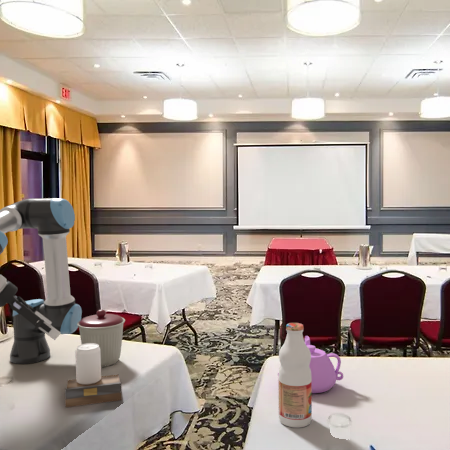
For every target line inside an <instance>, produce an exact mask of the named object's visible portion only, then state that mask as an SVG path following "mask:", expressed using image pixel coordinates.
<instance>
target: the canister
mask: <svg viewBox="0 0 450 450" xmlns="http://www.w3.org/2000/svg"><path fill="white" fill-rule="evenodd" d="M125 322H126V319H125V318H124V317H122V316H121V315H118V314H114V313H106V310H105V309H98V310H97V311H96V314H93V315H92V314H91V315H89V316H88V315H87V316H85V317H83V318H81V320H80V321H79V322H78V323H77V325H78V328H79V337H80V342H81V344H80V345H82V344H87V343H95V344H98V345H99V348H100V354H101V368H103V367H108V366H113V365H114V364H116V363H117V362H118V361H119V360H120V357H121V353H122V352H121V351H122V345H123V344H122V343H123V331H124V324H125Z"/></svg>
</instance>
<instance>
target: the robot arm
mask: <svg viewBox="0 0 450 450" xmlns="http://www.w3.org/2000/svg"><path fill="white" fill-rule="evenodd" d="M75 221H76V214H75V211H74V207H73V205H72V204H71V203H70V202H69V200H67V199H66V198H57V197H52V198H50V197H48V198H46V197H45V198H25V199H22V200H19V201H17V202H14V203H11V204H9V205H6V206H4V207H2V208H1V209H0V255H2V253H3V252H4V250H5V249H6V248H7V245H8V242H9V241H8V237H7V235H6V234H7V233H8V232H16V231H18V230H23V229H35V230H36V229H37V235H38V236H39V237H41V239H42V245H43V258H44V268H45V281H46V282H45V284H46V293H47V294H46V296H47V298H46V299H41V298H38V299H37V298H36V299H30V300H24V299H23V298H22V297H21V296H20V295H18V296H17V295H16V294H17V293H18V286H16V285H15V284H14V283H12V282H11V281H9V280H7V278H6V277H5V276H3V275H2V274H0V308H2V307H5V306H6V305H7V304H8V305H9V307H10V309H11V310H12V320H13V321H12V325H13V326H12V327H13V344H12V347H11V351H10V354H9V361H10V363H12V364H16V365H17V364H18V365H20V364H21V365H24V364H26V365H27V364H34V363H35V364H36V363H39V362H42V361H44V360H47V359H48V358H49V357H51V349H50V346H49V344H48V340H47V339H46V335H47V336H48V337H50V338H51V339H52V340H53V341H56V339H57V338H58V337H59V336H60V335H69V334H70V335H71V334H73V333H75V332H76V331H77V330H78V328H79V327H78V325H77V323H78V322H79V321H80V320H82V313H83V310H82V307H81V306H80V304H78V303H76V299H75V297H74V296H73V295H71V287H70V284H71V283H70V274H69V259H68V248H67V247H68V245H67V236H68V235H69V233H70V231H71V230H70V229H72V228H73V227H74V225H75Z"/></svg>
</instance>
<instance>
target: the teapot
mask: <svg viewBox="0 0 450 450" xmlns="http://www.w3.org/2000/svg"><path fill="white" fill-rule="evenodd" d="M304 342H305V344H306V346H307V347H308V348H309V350H310V352H311V361H310V364H309V367H310V369H311V375H312V394H319V393H325V392H327V391H329V390H331V388H332V387H334V386H335V384H336V383H337V381H341V380H343V379H344V372H342V371H340V369H341V364H342V360H341V356H339V355H338V354H337V353H333V352H332V353H330V352H329V353H326V351H324V350H323V349H319V348H316V346H315V345H312V344H311V339H310V337H309V336H308V335H305V336H304ZM330 358H335V359H337V362H336V364H337V365H336V368H335V367H334V364H333V362H332V360H331V359H330ZM278 375H279V371H278V372H277V376H278ZM339 375H340V376H339Z"/></svg>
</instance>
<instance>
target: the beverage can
mask: <svg viewBox="0 0 450 450" xmlns="http://www.w3.org/2000/svg"><path fill="white" fill-rule="evenodd" d="M74 352H75V374H76V376H75V379H76V381H77V382H78V383H79V384H83V385H90V384H94V383H96V382H98V381H99V380H100V379H101V376H102V367H101V354H100V348H99V345H98V344H95V343H87V344H79V345H78V346H76V349H75V351H74Z"/></svg>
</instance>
